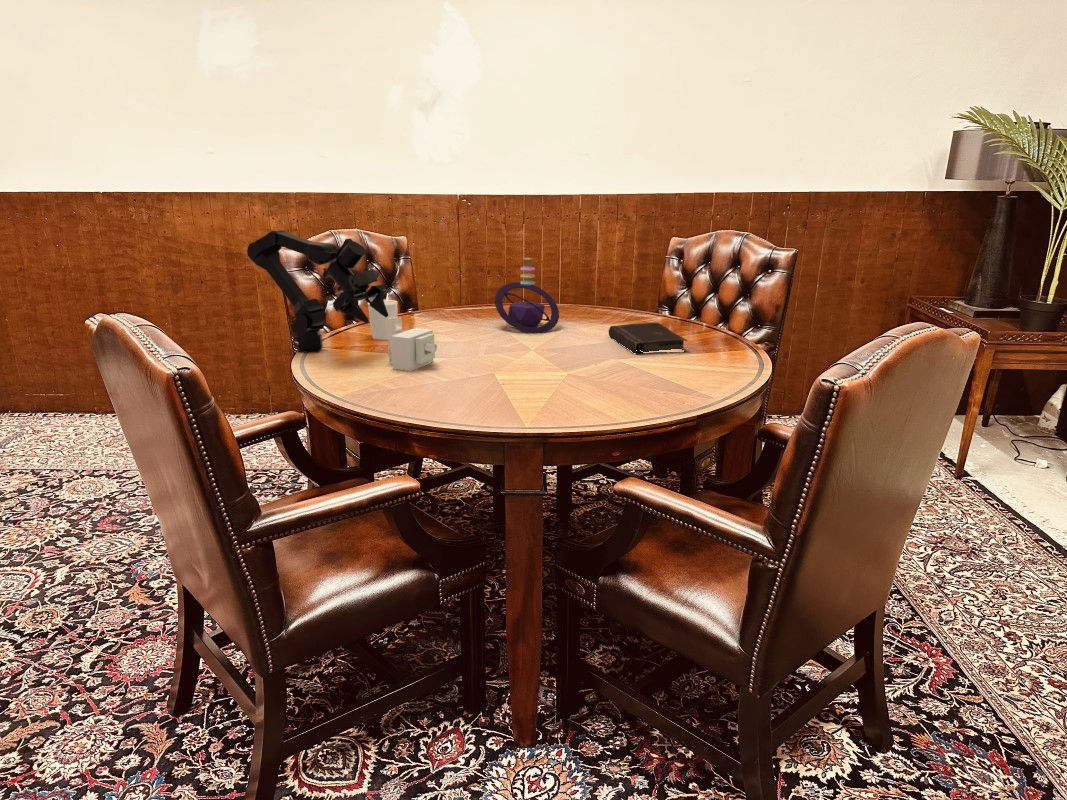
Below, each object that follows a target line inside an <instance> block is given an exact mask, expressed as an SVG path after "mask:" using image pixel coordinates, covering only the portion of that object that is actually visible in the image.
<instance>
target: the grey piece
mask: <svg viewBox="0 0 1067 800" xmlns="http://www.w3.org/2000/svg"><path fill="white" fill-rule="evenodd" d="M387 330H388V340H387V342H388V343H387V345H388V346H387V348H388V362H389V363H392V348H391V336H393V335H396V334H399V333H402V332H403V320H402V317H400V316H399V317H398V316H397V317H390V318H387ZM424 347H425V351H428V352H437V350H438V346H437V344H436V343H434V344H431V343H427V344H424Z"/></svg>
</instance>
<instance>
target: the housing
mask: <svg viewBox="0 0 1067 800" xmlns="http://www.w3.org/2000/svg"><path fill="white" fill-rule="evenodd" d="M427 334H433V329H426V328H417V327H415V328H412V329H409V330H405V331H402V333H399V334H396V335H393V336H391V348H392V362H391V363H392V364H391V365H392V366H391V367H392V370H396V369H398V370H397V371H403V370H405V372H412V370H413V371H414V370H415V371H416V370H417V369H419V368H422V367H424V365H425V366H427V365H429V363H430V364H432V363H434V361H435V358H433V359H431V360H428V361H426V362H423V363H417V361H416V338H418V337H421V336H424V335H427ZM425 353H426V351H425ZM431 362H432V363H431Z"/></svg>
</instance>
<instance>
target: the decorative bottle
mask: <svg viewBox="0 0 1067 800" xmlns="http://www.w3.org/2000/svg"><path fill="white" fill-rule="evenodd" d="M522 261H523V264H522V266H521V267H520V271H521V272H534V271H535V270H536V268H535V267H534V266H533V257H523V258H522ZM519 277H520V278H521V279H522V280H521V281H520V282H519V281H516V282H515V281H514V282H509V283H507V284H506V283H505V285H503V286H501V287H500V288H499V289H498V291H496V294H495V297H494V305H495V308H496V311H497V312H498V314H499V316H500V317H501V318H502V320H504V321H505V322H506V323H507V324H508V325H509V326H511V327H512V328H514V329H516V330H518V331H522V332H523V333H527V334H528V333H529V334H543V333H546V332H549V331H550V330H552V329H554V328H555V327H556V325H557V324H558V322H559V318H560V310H559V307H558V305H557V302H556V301H555V300H554V299H553V296H551V295H550V294H548V292H546V291H545V290H544V289H542V288H540V287H539V286H537V285H535V284H536V282H535V281H534V280H529V279H534V278H535V277H536V275H535V274H533V273H521V274H520V276H519ZM523 279H526V280H523ZM515 289H525V290H530V291H532V292H534V293H536V294H538V295H540V296H541V297H543V299H545V301H546V302H547V304H548V305H549V308H550V311H551V312H550V314H551V315H550V317H549V316H548V314H547V313H546V312H545V306H546V305H544V304H542V303H543V301H542V303H540V302H538V301H528V299H525V298H524V297H522V296H519V295H517V294H514V293H512V292H510V291H512V290H515ZM509 296H513V297H516V298H518V299H519V300H522V301H515V302H513V301H512V300H511V299H510V298H509ZM504 298H505V299H506V300H508V301H509V302H510V303H511V304H509V305H508V306H509V308H508V314H507V312H506V310H505V308H504V304H503V302H504V301H503V299H504ZM543 316H545V317H546V318H544V317H543ZM542 321H544V322H546V323H545V324H543V325H540V323H541V322H542ZM539 325H540V326H539Z"/></svg>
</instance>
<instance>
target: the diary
mask: <svg viewBox="0 0 1067 800" xmlns="http://www.w3.org/2000/svg"><path fill="white" fill-rule="evenodd" d="M608 336H610V337H612V338H613V339H615V340H616V341H618V342H619V343H620V344H622V345H623V346H625V347H626V348H628V349H629V350H631V351H632V352H633V353H636V354H637V353H638V352H640V350H641V351H643V352H649V351H659V350H671V349H682V348H683V349H684V344H685V343H684V342H689V340H688V339H686V338H685V337H682V336H681V335H679V334H677V333H676V332H673V331H672V330H671V329H669V328H667V327H666V326H665V325H663V324H661V323H659V322H640V323H637V322H636V323H627V324H618V325H610V326H609V328H608ZM610 337H609V338H610ZM612 338H611V339H612ZM613 339H612V340H613ZM615 340H614V341H615ZM616 341H615V342H616ZM618 342H617V343H618ZM619 343H618V344H619ZM620 344H619V345H620ZM622 345H621V346H622ZM623 346H622V347H623ZM625 347H624V348H625ZM626 348H625V349H626ZM628 349H627V350H628ZM629 350H628V351H629ZM636 350H637V351H638V352H636ZM632 352H631V353H632ZM633 353H632V354H633Z"/></svg>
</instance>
